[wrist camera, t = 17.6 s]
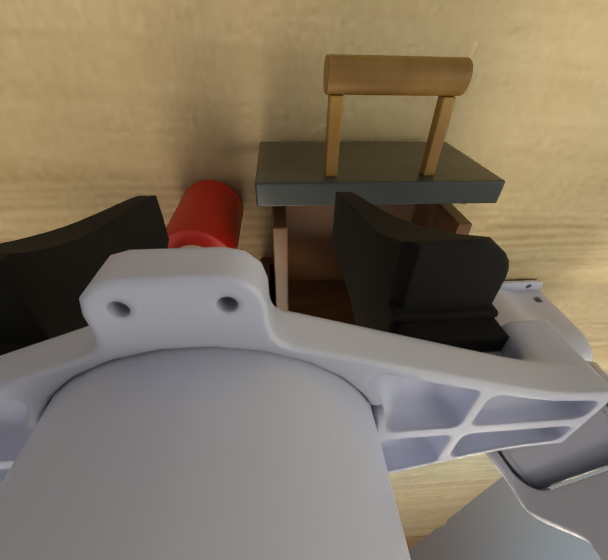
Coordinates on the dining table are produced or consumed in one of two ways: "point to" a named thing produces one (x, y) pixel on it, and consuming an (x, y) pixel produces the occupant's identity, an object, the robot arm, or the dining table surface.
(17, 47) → the dining table surface
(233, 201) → the red plastic cylinder
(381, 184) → the drawer
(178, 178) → the dining table surface
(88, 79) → the dining table surface
